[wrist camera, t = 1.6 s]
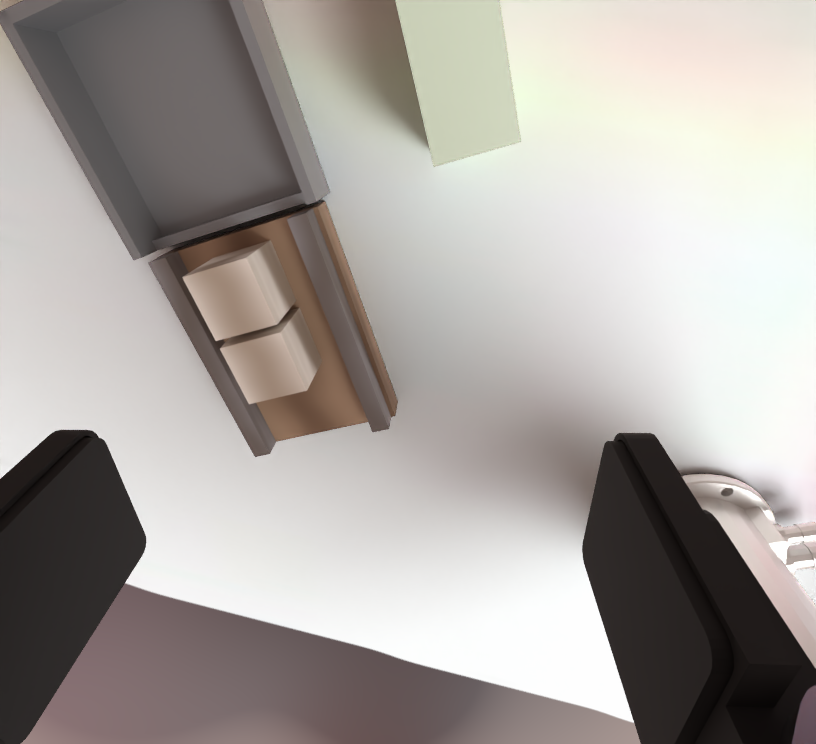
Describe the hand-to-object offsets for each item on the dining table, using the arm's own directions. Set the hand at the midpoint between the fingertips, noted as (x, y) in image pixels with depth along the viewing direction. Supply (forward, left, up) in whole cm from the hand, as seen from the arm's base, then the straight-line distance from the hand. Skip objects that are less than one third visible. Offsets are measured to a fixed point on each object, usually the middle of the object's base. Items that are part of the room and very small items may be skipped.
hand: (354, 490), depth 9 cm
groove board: (+11, +4, -24) cm, 27 cm away
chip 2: (+11, +4, -22) cm, 25 cm away
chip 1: (+11, 0, -22) cm, 25 cm away
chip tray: (+11, -10, -24) cm, 28 cm away
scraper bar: (-4, -10, -24) cm, 27 cm away
